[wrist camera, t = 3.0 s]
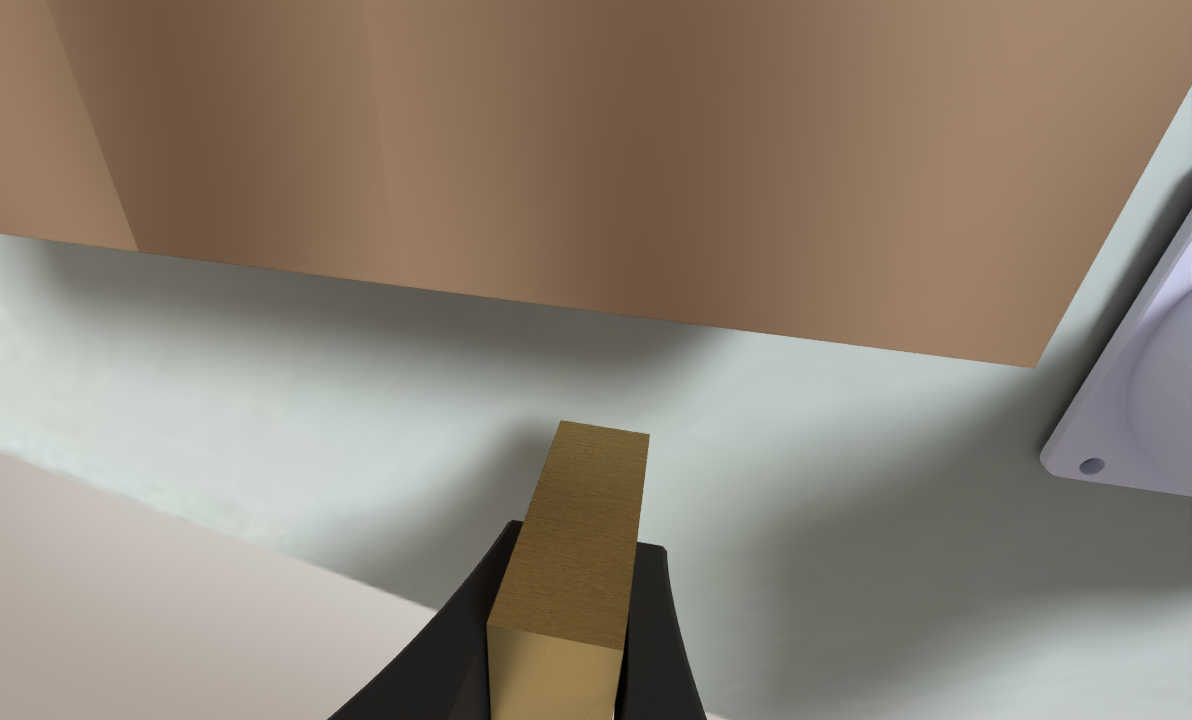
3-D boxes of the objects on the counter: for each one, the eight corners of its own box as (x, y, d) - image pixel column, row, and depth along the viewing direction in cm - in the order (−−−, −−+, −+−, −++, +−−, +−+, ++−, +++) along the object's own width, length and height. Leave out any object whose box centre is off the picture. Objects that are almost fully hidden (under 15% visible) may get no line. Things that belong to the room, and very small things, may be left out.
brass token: (649, 434, 12) (623, 650, 8) (627, 582, 15) (597, 807, 10) (560, 420, 12) (486, 624, 8) (553, 569, 15) (494, 783, 10)
